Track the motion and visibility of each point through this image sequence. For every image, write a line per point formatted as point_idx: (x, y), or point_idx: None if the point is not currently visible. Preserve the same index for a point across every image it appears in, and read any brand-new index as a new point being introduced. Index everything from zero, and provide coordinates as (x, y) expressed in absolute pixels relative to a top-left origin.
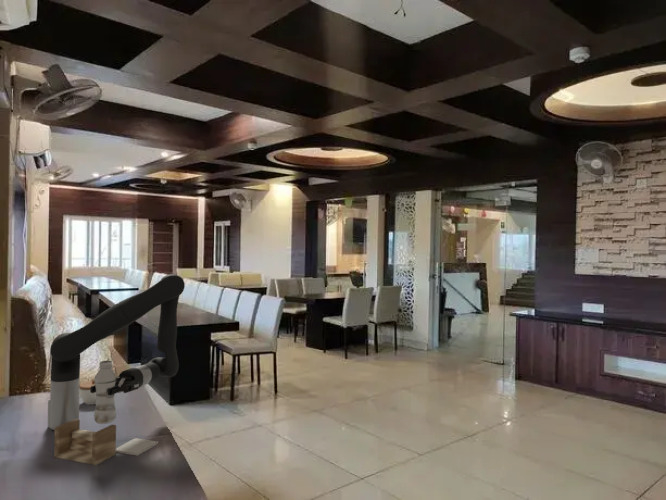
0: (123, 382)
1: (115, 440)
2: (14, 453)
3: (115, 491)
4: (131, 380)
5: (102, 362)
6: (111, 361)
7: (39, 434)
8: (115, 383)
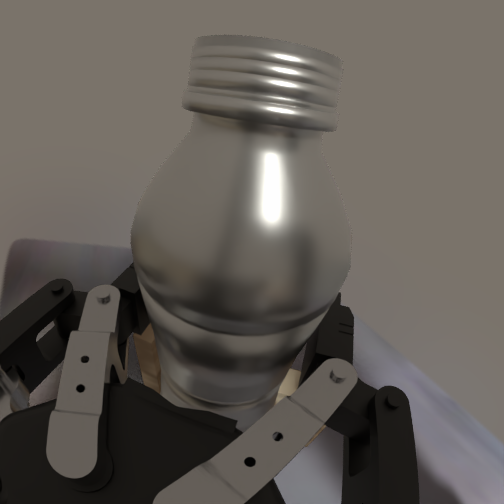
0: (72, 349)
1: (141, 369)
2: (422, 388)
3: (116, 252)
4: (1, 440)
5: (333, 74)
6: (203, 37)
7: (466, 490)
8: (173, 408)
